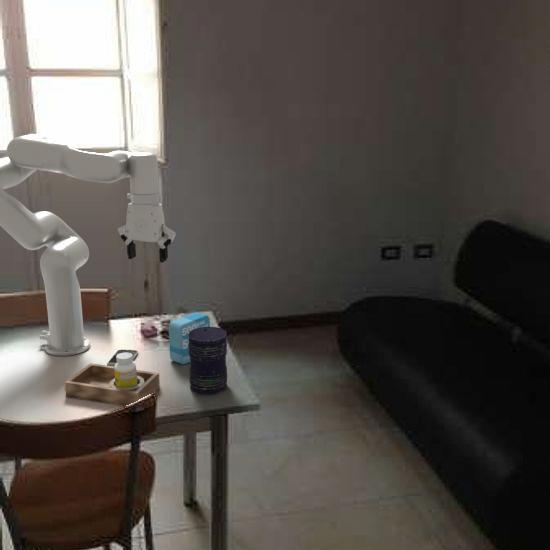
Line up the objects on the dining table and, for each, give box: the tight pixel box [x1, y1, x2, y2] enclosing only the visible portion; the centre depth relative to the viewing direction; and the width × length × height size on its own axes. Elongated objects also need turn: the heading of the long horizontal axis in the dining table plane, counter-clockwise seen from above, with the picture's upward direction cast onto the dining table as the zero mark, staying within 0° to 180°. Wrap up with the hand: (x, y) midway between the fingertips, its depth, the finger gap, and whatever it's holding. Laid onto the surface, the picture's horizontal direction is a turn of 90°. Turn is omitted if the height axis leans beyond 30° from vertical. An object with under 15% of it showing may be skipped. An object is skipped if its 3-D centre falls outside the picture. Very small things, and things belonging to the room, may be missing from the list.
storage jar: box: [188, 326, 228, 397], centre depth 170 cm, size 10×10×15 cm
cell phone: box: [106, 349, 139, 366], centre depth 187 cm, size 6×11×1 cm, turn 175°
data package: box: [168, 311, 211, 365], centre depth 188 cm, size 12×4×12 cm, turn 142°
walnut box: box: [64, 362, 161, 407], centre depth 168 cm, size 20×12×4 cm, turn 74°
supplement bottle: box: [114, 352, 137, 388], centre depth 166 cm, size 5×5×10 cm
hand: (147, 259), depth 184 cm, fingers open, 9 cm apart
